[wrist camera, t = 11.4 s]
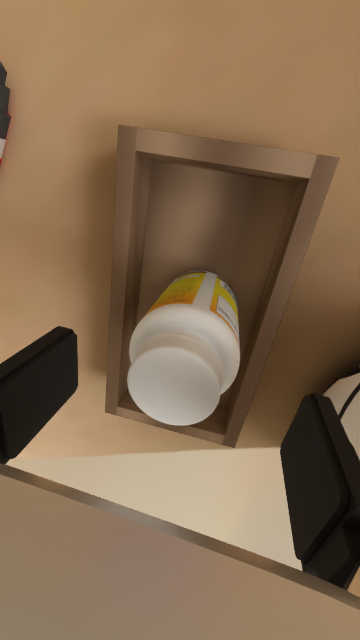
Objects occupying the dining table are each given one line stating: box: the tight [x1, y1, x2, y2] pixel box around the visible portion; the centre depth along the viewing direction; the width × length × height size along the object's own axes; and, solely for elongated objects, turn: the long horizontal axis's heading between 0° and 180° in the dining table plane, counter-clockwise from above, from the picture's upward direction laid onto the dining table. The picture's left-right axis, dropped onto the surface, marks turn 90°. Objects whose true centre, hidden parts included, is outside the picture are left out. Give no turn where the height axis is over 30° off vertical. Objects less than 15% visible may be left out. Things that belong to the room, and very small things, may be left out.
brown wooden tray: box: [105, 125, 339, 448], centre depth 19 cm, size 11×20×4 cm, turn 171°
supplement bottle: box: [127, 271, 240, 426], centre depth 15 cm, size 6×6×10 cm
